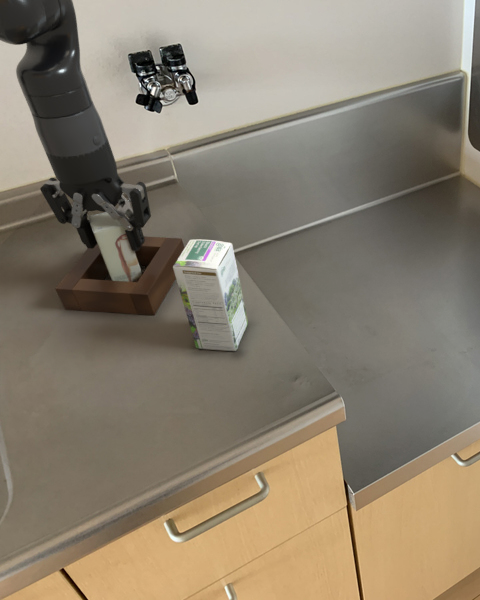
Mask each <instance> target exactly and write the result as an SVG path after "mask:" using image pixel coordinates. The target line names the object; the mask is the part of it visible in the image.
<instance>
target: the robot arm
mask: <svg viewBox="0 0 480 600" xmlns="http://www.w3.org/2000/svg"><path fill="white" fill-rule="evenodd" d="M77 20H78V19H77V14H76V10H75V5H74V2H73V0H0V41H1V42H3V43H5V44H9V45H14V46H21V45H25V44H26V49H25V53H24V55H23V56H22V58H21V59H20V60H19V62H18V63H17V65H16V68H15V74H16V79H17V82H18V84H19V87H20V90H21V91H22V95H23V96H24V99H25V101H26V104H27V106H28V109H29V111H30V113H31V116H32V119H33V122H34V123H33V124H34V128H35V130H36V133H37V137H38V138H39V141H40V143H41V145H42V148H43V151H44V152H45V155H46V157H47V160H48V162H49V164H50V167H51V169H52V171H53V174H54V177H50V178H48V180H47V181H45V182H44V183H43V184H42V186H41V187H40V189H39V190H40V192H41V194H42V196H43V198H44V199H45V201H46V202H47V204H48V206H49V208H50V209H51V211H52V212H53V214H54V216H55V218H56V219H57V222H58V223H60V224H62V225H65V224H66V223H67V224H71V226H72V227H73V228H75V230H76V231H77V233H78V236H79V238H80V240H81V242H82V244H83V245H85V247H86V249H87V248H92V249H93V248H94V247H95V246H96V245H97V241H96V238H95V235H94V233H93V230H92V227H91V225H90V220H89V216H90V215H89V214H90V212H96V211H99V212H101V213H105V212H107V213H108V214H109V215H110V216H111V217H112V218H113V219H114V220H118V221H119V222H120V223H121V225H122V226H123V227H124V228H125V229H126V230H125V232H126V235H127V238H128V241H129V243H130V246H131V249H132V251H138V250H139V249H140V248H141V246H142V245H143V243H144V242H145V238H144V236H145V235H144V233H143V229H142V228H144V227H145V226H146V225H147V223H148V222H149V220H150V219H151V217H152V214H151V213H152V212H151V208H150V202H149V196H148V191H147V185H146V184H145V183H144V182H143V181H138V182H137V183H136V184H131V183H125V181H123V179H122V178H121V177H120V176H119V173H118V167H117V161H116V159H115V155H114V153H113V150H112V147H111V144H110V142H109V141H110V140H109V138H108V135H107V133H106V129H105V126H104V123H103V120H102V118H101V115H100V114H99V112H98V110H97V107H96V106H95V104H94V101H93V98H92V96H91V93H90V90H89V86H88V84H87V83H88V82H87V80H86V78H85V75H84V73H83V70H82V67H81V66H82V65H81V49H80V39H79V29H78V21H77ZM124 194H125V195H126V196H125V195H124ZM68 197H69V198H70V199H71V200H72V204H71V202H70V200H69V198H68ZM117 205H118V207H117ZM116 207H117V208H116Z"/></svg>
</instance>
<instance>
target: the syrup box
mask: <svg viewBox="0 0 480 600" xmlns="http://www.w3.org/2000/svg"><path fill="white" fill-rule="evenodd" d="M173 269H174V273H175V276H176V279H175V281H176V282H177V287H178V290H179V293H180V297H181V301H182V304H183V308H184V311H185V314H186V318H187V321H188V324H189V328H190V332H191V335H192V339H193V341H194V345H195V348H196V349H198V350H199V349H201V350H214V351H226V352H227V351H228V352H237V351H238V349H239V346H240V344H241V341H242V339H243V336H244V334H245V332H246V330H247V327H248V324H249V321H248V314H247V310H246V305H245V300H244V296H243V290H242V286H241V279H240V276H239V275H240V274H239V270H238V266H237V261H236V256H235V252H234V246H233V243H232V242H227V241H222V240H213V239H199V238H197V239H189V240H188V242H187V244H186V245H185V246H184V250H183V252H182V253H181V255H180V256H179V258H178V259H177V261H176V263H175V264H174V266H173Z"/></svg>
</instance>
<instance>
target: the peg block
mask: <svg viewBox="0 0 480 600" xmlns="http://www.w3.org/2000/svg"><path fill="white" fill-rule="evenodd" d="M144 238H145V242H144V243H143V245H142V246H141V248H140V249H139V250H138V251H135V254H136V257H137V260H138V263H139V266H140V267H141V266H142V267H146V268H145V270H144V271H143V272H142V276H141V278H140V279H139V281H138V282H125V281H112V280H106V277H107V275H109V272H108V269H107V267H106V264H105V261H104V259H103V256H102V254H101V251H100V248H99V246H98V243H97V245H96V246H95V247H94V248H93V249H92V248H87V247H86V250H84V252H83V253H82V254H81V255H80V257H79V258H78V259H77V260H76V262H75V263H74V264H73V266H72V267H71V268H70V269H69V270H68V272H67V273H66V274H65V275H64V277H63V278H62V279H61V280H60V282H58V284H57V286H55V287H54V289H55V292H56V293H57V295H58V298H59V300H60V302H61V304H62V306H63V308H64V310H67V311H68V310H70V311H84V312H85V311H86V312H99V313H100V312H101V313H114V314H127V315H128V314H129V315H130V314H131V315H146V316H155V315H156V313H157V312H158V310H159V309H160V307H161V305H162V303H163V302H164V300H165V298H166V297H167V295H168V293H169V292H170V290H171V288H172V286H173V285H174V283H175V281H176V276H175V273H174V269H173V266H174V264H175V263H176V261H177V259H178V258H179V256H180V255H181V253H182V252H183V250H184V248H185V245H184V244H185V243H184V241H183V238H179V237H163V236H161V237H160V236H146V235H144Z"/></svg>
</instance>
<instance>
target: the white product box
mask: <svg viewBox="0 0 480 600" xmlns="http://www.w3.org/2000/svg"><path fill="white" fill-rule="evenodd" d="M88 220H90V225H91V227H92V230H93V233H94V235H95V238H96V241H97V243H98V246H99V248H100V251H101V254H102V256H103V259H104V261H105V264H106V267H107V269H108V272H109V273H108V275H109V277H110V281H125V282H138V281H139V279H140V278H141V276H142V275H143V272H142V269H141V266H140V265H139V263H138V260H137V257H136V254H135V251H132V249H131V246H130V243H129V241H128V238H127V235H126V232H125V230H126V229H125V228H124V227H123V226H122V225H121V223H120V222H119V221H118V220H114V219H113V218H112V217H111V216H110V215H109V214H108V213H107V212H100V213H96V214H92V215H88Z"/></svg>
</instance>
